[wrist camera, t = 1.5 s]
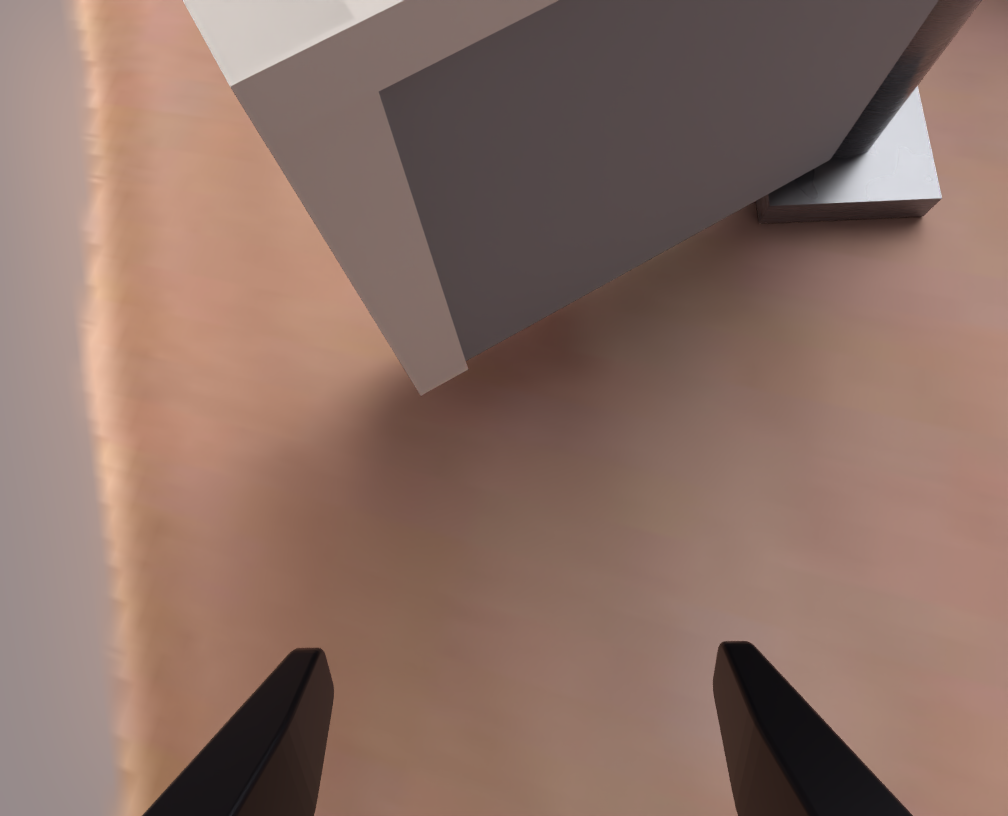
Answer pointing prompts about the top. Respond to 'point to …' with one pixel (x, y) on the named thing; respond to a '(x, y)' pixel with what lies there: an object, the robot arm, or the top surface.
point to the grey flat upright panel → (537, 136)
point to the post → (879, 144)
